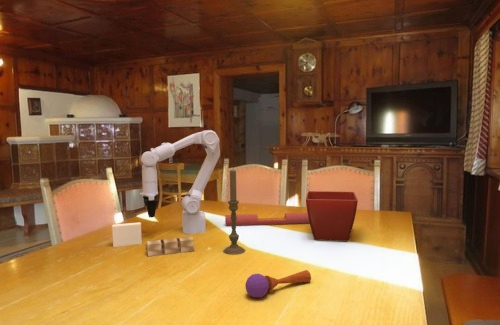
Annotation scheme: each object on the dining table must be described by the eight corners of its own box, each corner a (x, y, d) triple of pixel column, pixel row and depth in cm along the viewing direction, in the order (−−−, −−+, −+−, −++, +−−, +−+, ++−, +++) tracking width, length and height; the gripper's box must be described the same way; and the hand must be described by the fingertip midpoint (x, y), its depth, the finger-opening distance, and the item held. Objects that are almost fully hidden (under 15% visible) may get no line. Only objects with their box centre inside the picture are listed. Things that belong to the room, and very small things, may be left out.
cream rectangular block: (141, 242, 139) (140, 222, 138) (141, 245, 136) (140, 224, 135) (113, 245, 136) (112, 224, 135) (113, 248, 133) (112, 226, 132)
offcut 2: (191, 247, 131) (191, 236, 131) (193, 250, 127) (193, 239, 127) (179, 248, 130) (179, 237, 129) (181, 252, 126) (180, 241, 125)
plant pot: (307, 229, 157) (307, 190, 155) (353, 231, 153) (354, 191, 152) (305, 242, 138) (305, 198, 137) (357, 245, 134) (358, 200, 133)
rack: (188, 242, 140) (188, 236, 140) (194, 253, 127) (194, 247, 127) (145, 247, 135) (145, 240, 135) (147, 259, 122) (147, 252, 122)
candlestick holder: (250, 250, 130) (249, 167, 127) (241, 259, 121) (240, 170, 118) (227, 248, 133) (225, 166, 130) (216, 256, 124) (215, 169, 121)
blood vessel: (225, 227, 163) (225, 216, 162) (225, 224, 167) (225, 213, 167) (317, 224, 165) (317, 213, 165) (315, 221, 170) (315, 211, 170)
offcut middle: (176, 249, 129) (176, 238, 129) (177, 252, 126) (177, 241, 125) (163, 250, 128) (163, 239, 128) (164, 254, 124) (164, 242, 124)
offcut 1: (160, 251, 128) (160, 239, 127) (161, 254, 124) (161, 243, 123) (147, 252, 126) (147, 241, 126) (148, 256, 122) (147, 244, 122)
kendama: (316, 271, 100) (255, 283, 90) (311, 291, 101) (251, 304, 91) (302, 261, 105) (243, 271, 94) (298, 280, 106) (239, 291, 96)
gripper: (138, 179, 150) (140, 211, 152) (139, 184, 137) (141, 219, 138) (156, 178, 153) (157, 210, 154) (159, 183, 139) (160, 218, 140)
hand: (151, 214), depth 146 cm, fingers open, 7 cm apart
